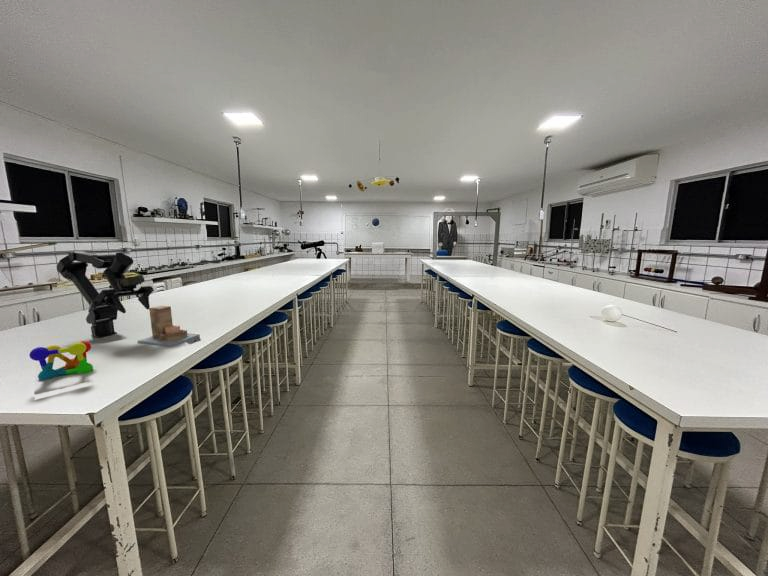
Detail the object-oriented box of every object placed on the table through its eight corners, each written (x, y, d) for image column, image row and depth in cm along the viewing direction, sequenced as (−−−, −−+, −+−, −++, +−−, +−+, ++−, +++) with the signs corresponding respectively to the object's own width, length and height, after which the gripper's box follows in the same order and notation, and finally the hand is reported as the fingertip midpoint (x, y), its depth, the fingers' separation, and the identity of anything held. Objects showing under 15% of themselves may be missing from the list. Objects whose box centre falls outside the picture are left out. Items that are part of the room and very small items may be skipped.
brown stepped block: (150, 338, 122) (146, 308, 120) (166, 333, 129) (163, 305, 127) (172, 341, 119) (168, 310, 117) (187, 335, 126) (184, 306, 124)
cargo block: (165, 336, 122) (164, 327, 122) (173, 333, 125) (172, 325, 125) (172, 336, 121) (171, 328, 121) (180, 334, 125) (179, 325, 124)
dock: (137, 345, 120) (137, 340, 120) (168, 335, 133) (167, 331, 132) (171, 349, 116) (171, 344, 116) (200, 338, 129) (199, 334, 128)
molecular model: (73, 367, 101) (102, 330, 101) (80, 391, 94) (111, 352, 95) (8, 361, 88) (42, 319, 89) (11, 388, 82) (48, 343, 83)
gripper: (101, 269, 113) (122, 302, 112) (151, 267, 131) (170, 296, 130) (86, 286, 116) (107, 319, 115) (137, 282, 134) (155, 311, 133)
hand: (137, 310), depth 123 cm, fingers open, 9 cm apart
